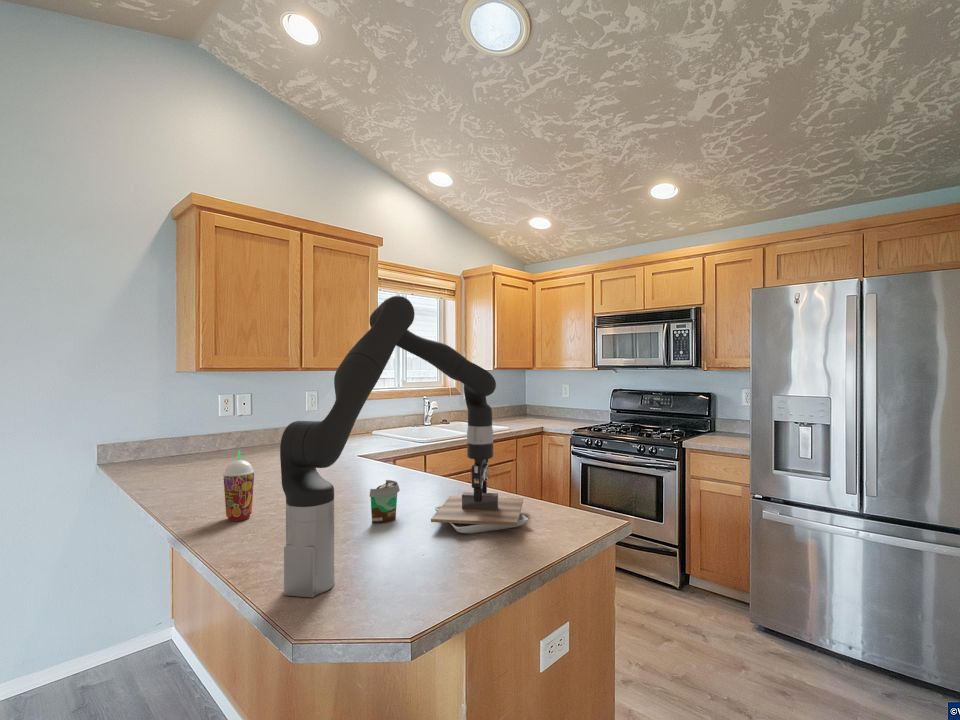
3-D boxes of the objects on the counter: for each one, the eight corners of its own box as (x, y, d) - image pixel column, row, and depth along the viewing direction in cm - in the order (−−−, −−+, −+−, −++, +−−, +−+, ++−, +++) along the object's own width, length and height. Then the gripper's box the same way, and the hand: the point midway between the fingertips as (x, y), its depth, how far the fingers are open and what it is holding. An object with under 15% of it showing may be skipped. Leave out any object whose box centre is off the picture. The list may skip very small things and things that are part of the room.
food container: (390, 526, 133) (390, 490, 134) (369, 525, 135) (369, 489, 135) (405, 513, 145) (405, 480, 146) (386, 512, 147) (386, 479, 147)
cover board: (517, 525, 124) (517, 507, 124) (430, 522, 128) (430, 503, 128) (523, 501, 147) (522, 485, 147) (449, 498, 150) (449, 483, 150)
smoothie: (216, 520, 140) (216, 451, 140) (242, 512, 147) (242, 447, 148) (235, 524, 136) (235, 453, 136) (260, 516, 143) (260, 449, 144)
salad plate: (498, 509, 150) (498, 498, 150) (530, 530, 131) (529, 517, 131) (433, 517, 143) (433, 505, 143) (456, 541, 123) (456, 527, 123)
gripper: (489, 445, 130) (489, 505, 130) (496, 437, 144) (496, 492, 144) (462, 444, 131) (462, 504, 131) (471, 437, 145) (472, 491, 145)
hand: (480, 497), depth 138 cm, fingers open, 8 cm apart
